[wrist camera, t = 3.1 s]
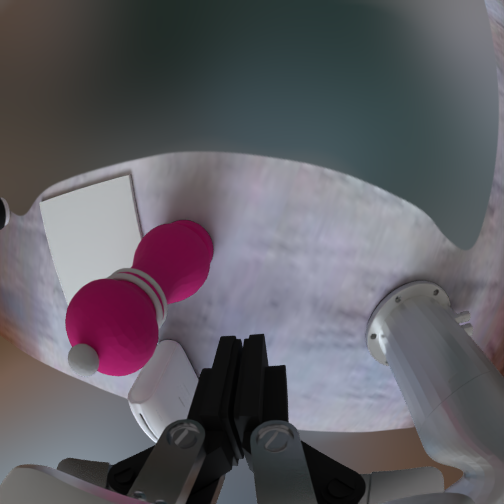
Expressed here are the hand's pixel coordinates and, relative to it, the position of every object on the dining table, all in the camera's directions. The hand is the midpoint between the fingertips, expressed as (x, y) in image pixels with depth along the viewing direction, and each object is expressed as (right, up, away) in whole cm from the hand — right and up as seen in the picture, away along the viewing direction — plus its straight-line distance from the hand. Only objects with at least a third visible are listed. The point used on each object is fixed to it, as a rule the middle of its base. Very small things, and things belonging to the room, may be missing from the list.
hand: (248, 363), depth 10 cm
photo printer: (-10, -12, +25) cm, 29 cm away
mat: (-20, +4, +21) cm, 29 cm away
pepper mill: (-7, +5, +19) cm, 21 cm away
